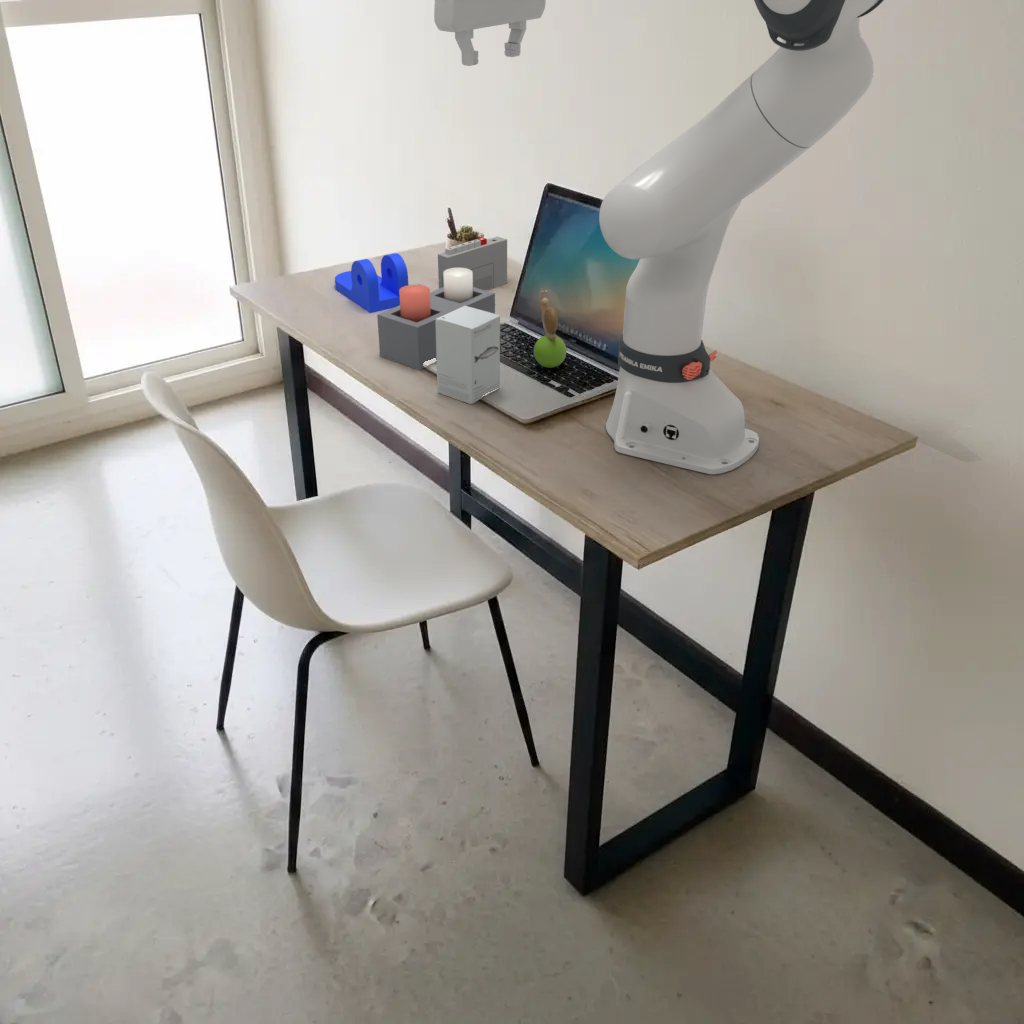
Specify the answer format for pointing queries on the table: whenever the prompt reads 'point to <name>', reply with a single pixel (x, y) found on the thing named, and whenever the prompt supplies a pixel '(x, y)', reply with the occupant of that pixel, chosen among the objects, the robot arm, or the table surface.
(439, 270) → the cassette player
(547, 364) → the snail figurine
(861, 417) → the table surface
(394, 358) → the block
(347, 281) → the bracket
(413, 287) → the red plug
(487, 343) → the supplement box
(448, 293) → the plug
